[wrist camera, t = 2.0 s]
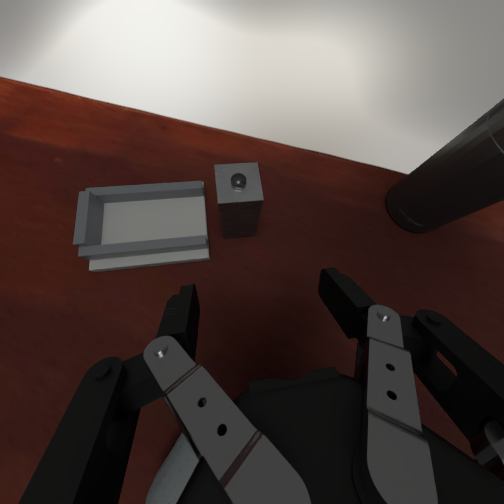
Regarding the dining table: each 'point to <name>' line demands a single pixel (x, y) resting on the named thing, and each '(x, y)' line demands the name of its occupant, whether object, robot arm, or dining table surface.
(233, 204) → the aluminium block
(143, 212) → the grey open box
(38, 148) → the dining table surface
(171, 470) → the ceramic mug
